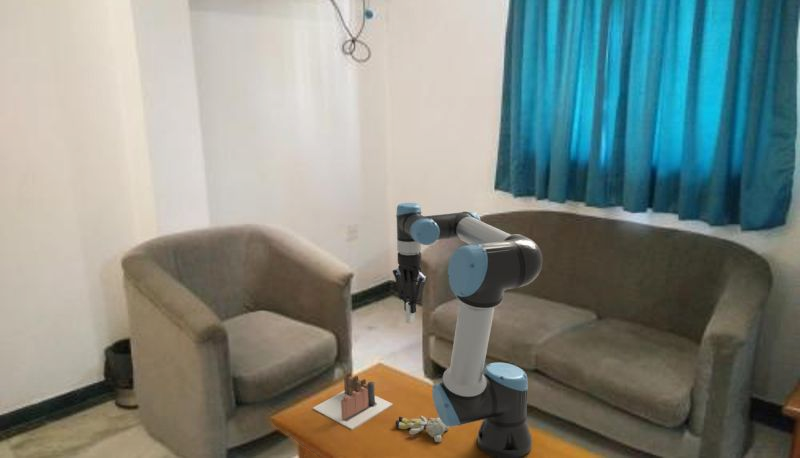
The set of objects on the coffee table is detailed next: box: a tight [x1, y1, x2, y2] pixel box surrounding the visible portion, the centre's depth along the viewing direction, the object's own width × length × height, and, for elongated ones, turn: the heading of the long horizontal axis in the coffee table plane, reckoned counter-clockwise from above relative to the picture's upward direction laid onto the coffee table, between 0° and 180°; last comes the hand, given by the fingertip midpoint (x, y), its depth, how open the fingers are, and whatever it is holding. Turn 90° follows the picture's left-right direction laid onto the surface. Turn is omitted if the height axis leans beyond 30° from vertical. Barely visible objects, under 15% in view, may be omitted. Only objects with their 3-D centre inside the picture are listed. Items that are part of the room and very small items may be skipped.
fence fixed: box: [343, 372, 376, 406], centre depth 191 cm, size 13×2×8 cm, turn 48°
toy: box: [395, 415, 450, 443], centre depth 174 cm, size 9×6×15 cm
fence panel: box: [341, 387, 368, 420], centre depth 182 cm, size 10×1×7 cm, turn 136°
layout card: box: [312, 390, 394, 430], centre depth 188 cm, size 18×18×1 cm
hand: (410, 321), depth 192 cm, fingers closed
